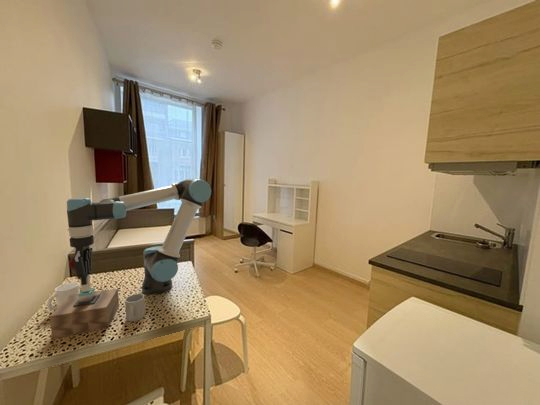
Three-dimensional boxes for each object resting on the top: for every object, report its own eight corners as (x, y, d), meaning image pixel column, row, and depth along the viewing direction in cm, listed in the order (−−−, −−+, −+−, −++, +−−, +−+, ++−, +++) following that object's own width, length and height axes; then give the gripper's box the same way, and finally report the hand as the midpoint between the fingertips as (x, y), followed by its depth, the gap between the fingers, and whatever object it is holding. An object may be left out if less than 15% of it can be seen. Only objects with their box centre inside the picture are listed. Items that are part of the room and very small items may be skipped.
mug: (54, 318, 97) (51, 296, 96) (42, 314, 100) (40, 292, 99) (84, 304, 108) (82, 283, 107) (73, 300, 111) (71, 281, 110)
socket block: (119, 306, 107) (117, 287, 106) (108, 327, 92) (106, 305, 91) (71, 314, 100) (69, 294, 99) (52, 338, 85) (49, 314, 84)
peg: (96, 307, 98) (94, 287, 97) (92, 312, 94) (90, 292, 93) (84, 309, 97) (82, 289, 96) (80, 315, 93) (78, 294, 92)
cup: (147, 311, 103) (146, 292, 102) (141, 324, 94) (139, 304, 93) (129, 313, 102) (128, 294, 100) (121, 327, 92) (119, 307, 91)
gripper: (77, 232, 97) (81, 285, 99) (61, 240, 84) (67, 300, 87) (98, 231, 99) (102, 282, 102) (86, 239, 87) (90, 296, 90)
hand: (86, 290), depth 94 cm, fingers closed
